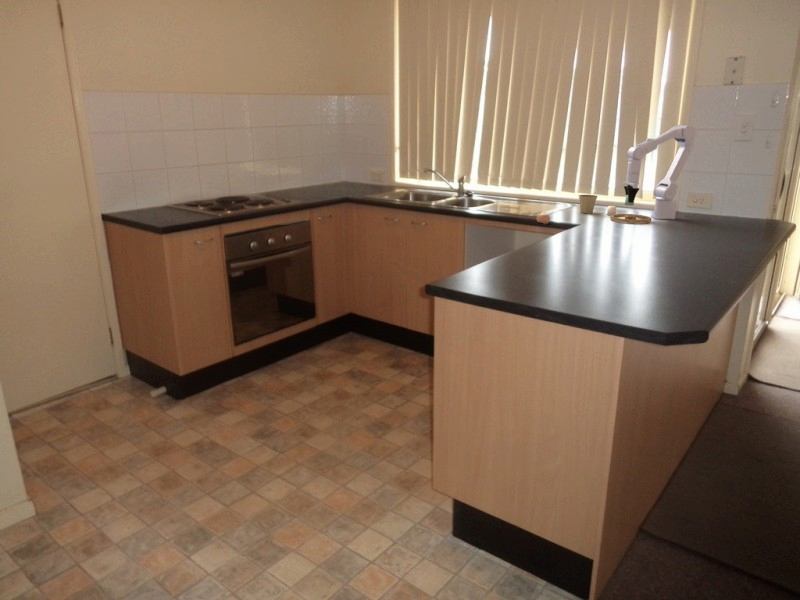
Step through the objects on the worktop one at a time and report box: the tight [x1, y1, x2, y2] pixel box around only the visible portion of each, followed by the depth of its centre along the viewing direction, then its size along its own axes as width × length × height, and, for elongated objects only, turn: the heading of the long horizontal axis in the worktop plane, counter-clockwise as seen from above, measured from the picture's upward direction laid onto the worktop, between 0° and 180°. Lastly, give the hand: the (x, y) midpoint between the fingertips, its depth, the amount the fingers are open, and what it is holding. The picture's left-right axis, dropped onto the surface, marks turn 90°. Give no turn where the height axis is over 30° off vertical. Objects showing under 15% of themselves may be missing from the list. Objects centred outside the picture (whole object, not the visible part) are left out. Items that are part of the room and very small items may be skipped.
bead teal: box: [624, 194, 635, 207], centre depth 287 cm, size 4×4×4 cm
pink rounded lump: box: [536, 213, 551, 225], centre depth 276 cm, size 4×4×4 cm
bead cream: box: [606, 205, 617, 217], centre depth 298 cm, size 4×4×4 cm
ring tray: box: [609, 213, 653, 225], centre depth 285 cm, size 18×18×2 cm
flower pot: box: [578, 194, 599, 214], centre depth 306 cm, size 9×9×9 cm
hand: (629, 201), depth 288 cm, fingers closed on bead teal, 4 cm apart
